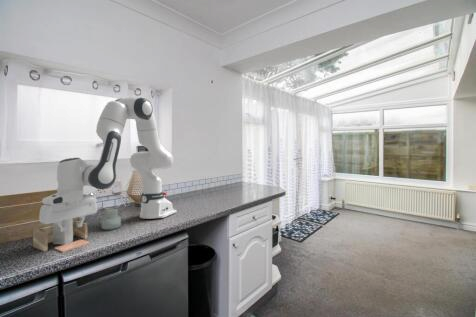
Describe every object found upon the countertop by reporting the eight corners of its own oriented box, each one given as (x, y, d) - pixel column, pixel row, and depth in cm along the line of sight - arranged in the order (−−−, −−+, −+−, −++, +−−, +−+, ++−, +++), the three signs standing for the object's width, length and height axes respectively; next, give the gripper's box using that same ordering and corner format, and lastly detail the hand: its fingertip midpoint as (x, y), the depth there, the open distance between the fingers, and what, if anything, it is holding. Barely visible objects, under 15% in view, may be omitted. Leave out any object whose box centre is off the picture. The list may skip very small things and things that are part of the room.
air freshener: (103, 226, 121) (103, 208, 121) (121, 224, 124) (121, 206, 124) (100, 232, 111) (100, 212, 111) (119, 230, 114) (119, 211, 114)
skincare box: (73, 241, 100) (73, 214, 100) (64, 245, 96) (64, 217, 96) (61, 240, 101) (61, 214, 101) (52, 244, 97) (52, 216, 97)
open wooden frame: (75, 234, 108) (75, 220, 108) (87, 238, 103) (87, 223, 103) (33, 246, 94) (33, 230, 94) (44, 251, 89) (44, 234, 89)
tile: (80, 240, 100) (80, 239, 100) (89, 243, 97) (89, 242, 97) (54, 249, 92) (54, 247, 92) (63, 252, 88) (63, 250, 88)
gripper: (92, 192, 105) (92, 221, 105) (37, 199, 87) (37, 235, 87) (100, 193, 102) (100, 223, 102) (44, 201, 84) (45, 238, 84)
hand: (70, 229), depth 95 cm, fingers open, 5 cm apart
